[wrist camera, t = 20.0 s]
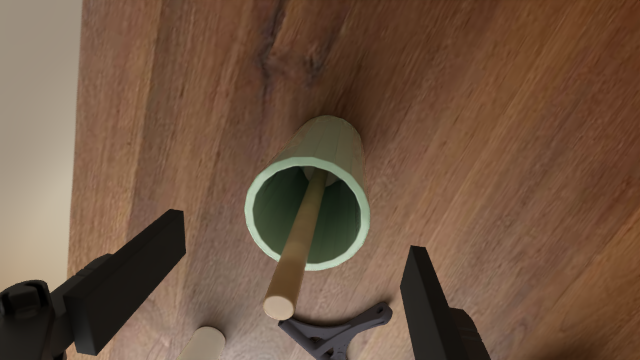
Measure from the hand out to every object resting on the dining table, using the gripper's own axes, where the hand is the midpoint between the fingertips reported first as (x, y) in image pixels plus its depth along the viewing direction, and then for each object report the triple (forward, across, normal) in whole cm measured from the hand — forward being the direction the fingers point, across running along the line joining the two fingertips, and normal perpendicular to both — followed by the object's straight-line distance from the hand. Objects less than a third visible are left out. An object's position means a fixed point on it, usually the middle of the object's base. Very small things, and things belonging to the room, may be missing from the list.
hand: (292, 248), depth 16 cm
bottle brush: (+20, 0, 0) cm, 20 cm away
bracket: (+21, +7, -26) cm, 34 cm away
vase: (+21, 0, 0) cm, 21 cm away
